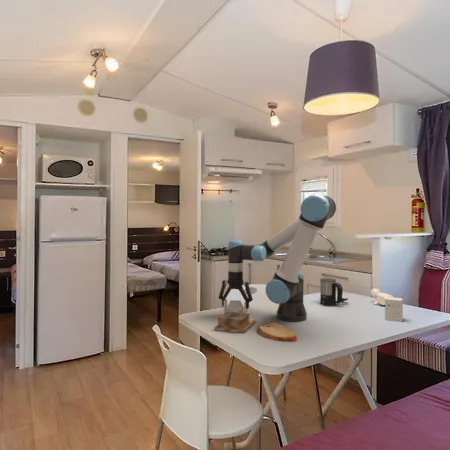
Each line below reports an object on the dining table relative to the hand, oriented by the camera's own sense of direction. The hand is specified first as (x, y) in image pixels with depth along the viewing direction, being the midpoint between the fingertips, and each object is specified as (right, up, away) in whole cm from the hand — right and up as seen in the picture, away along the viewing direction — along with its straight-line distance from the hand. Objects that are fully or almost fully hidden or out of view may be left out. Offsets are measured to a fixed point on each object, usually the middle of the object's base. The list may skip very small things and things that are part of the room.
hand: (235, 313), depth 191 cm
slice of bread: (+17, -3, -28) cm, 33 cm away
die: (0, -2, 0) cm, 2 cm away
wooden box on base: (0, -2, -16) cm, 16 cm away
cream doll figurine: (+86, -1, +26) cm, 90 cm away
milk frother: (+58, -1, +28) cm, 65 cm away
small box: (+79, -2, -5) cm, 79 cm away
